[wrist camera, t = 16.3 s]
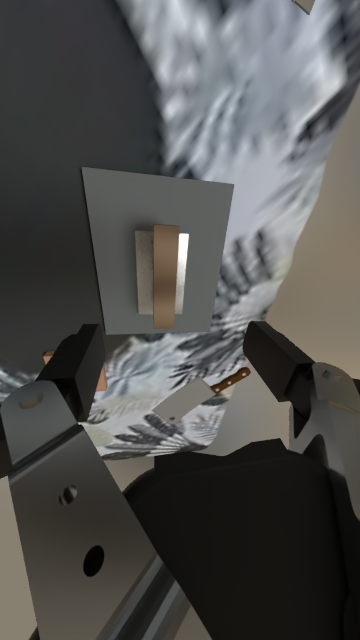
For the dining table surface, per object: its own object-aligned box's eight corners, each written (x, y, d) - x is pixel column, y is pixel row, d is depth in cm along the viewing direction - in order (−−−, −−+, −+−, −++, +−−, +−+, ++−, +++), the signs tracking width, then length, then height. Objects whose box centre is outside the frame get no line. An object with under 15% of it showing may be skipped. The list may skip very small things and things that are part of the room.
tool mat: (107, 331, 32) (106, 334, 31) (84, 169, 21) (81, 166, 20) (208, 328, 35) (209, 331, 34) (231, 185, 24) (234, 184, 23)
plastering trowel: (134, 221, 24) (130, 222, 18) (188, 225, 25) (201, 227, 19) (138, 312, 30) (136, 335, 24) (181, 312, 31) (189, 334, 25)
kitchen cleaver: (236, 351, 38) (255, 378, 42) (234, 348, 39) (253, 375, 43) (144, 407, 42) (170, 427, 46) (144, 403, 43) (170, 423, 47)
